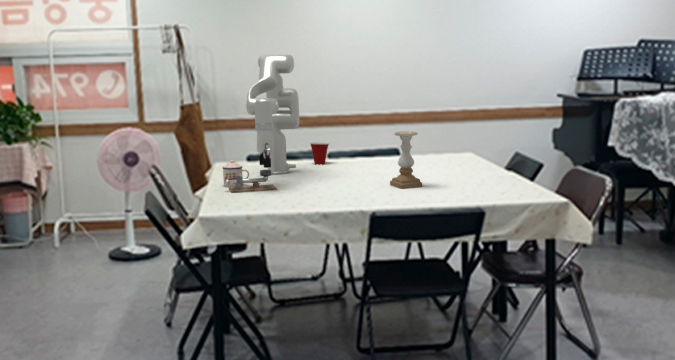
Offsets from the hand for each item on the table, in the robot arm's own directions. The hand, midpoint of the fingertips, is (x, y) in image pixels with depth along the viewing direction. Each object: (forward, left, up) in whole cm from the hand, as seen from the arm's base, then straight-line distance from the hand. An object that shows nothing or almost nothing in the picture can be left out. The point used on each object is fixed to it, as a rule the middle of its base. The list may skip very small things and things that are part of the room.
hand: (265, 166), depth 300 cm
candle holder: (-60, +16, -10) cm, 63 cm away
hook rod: (+8, -1, -7) cm, 11 cm away
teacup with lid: (+11, -14, -10) cm, 20 cm away
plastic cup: (-42, -64, -10) cm, 77 cm away
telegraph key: (+6, -1, -10) cm, 12 cm away
